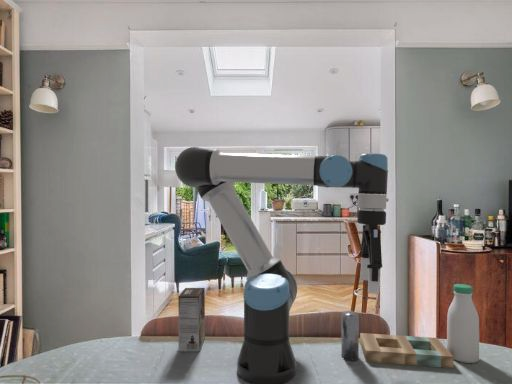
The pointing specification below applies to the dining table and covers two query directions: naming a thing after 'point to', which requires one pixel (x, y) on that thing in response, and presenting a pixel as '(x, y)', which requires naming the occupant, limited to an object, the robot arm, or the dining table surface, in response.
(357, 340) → the bushing
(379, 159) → the robot arm
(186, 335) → the coffee box
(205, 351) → the dining table surface
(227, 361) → the dining table surface
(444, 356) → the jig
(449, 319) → the milk bottle
